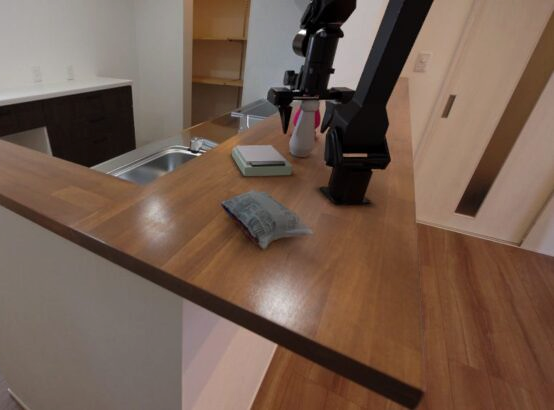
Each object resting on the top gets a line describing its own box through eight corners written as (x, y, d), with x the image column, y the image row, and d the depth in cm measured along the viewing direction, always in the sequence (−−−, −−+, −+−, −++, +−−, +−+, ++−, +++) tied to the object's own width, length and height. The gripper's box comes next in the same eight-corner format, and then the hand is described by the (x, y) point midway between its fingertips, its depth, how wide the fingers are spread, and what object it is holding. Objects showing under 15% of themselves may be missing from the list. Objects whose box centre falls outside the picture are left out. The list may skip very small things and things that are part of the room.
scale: (290, 175, 63) (293, 163, 62) (244, 176, 62) (245, 164, 61) (272, 154, 73) (273, 144, 72) (231, 155, 73) (232, 145, 71)
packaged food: (264, 205, 52) (268, 179, 49) (311, 245, 42) (319, 215, 40) (218, 215, 49) (219, 188, 46) (257, 260, 39) (262, 229, 37)
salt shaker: (307, 160, 70) (319, 102, 64) (283, 154, 73) (293, 99, 67) (315, 153, 74) (327, 99, 68) (292, 149, 78) (302, 96, 71)
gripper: (341, 57, 71) (324, 123, 80) (264, 57, 70) (255, 123, 78) (369, 63, 62) (347, 137, 70) (281, 63, 60) (269, 138, 69)
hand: (303, 133), depth 72 cm, fingers open, 9 cm apart
